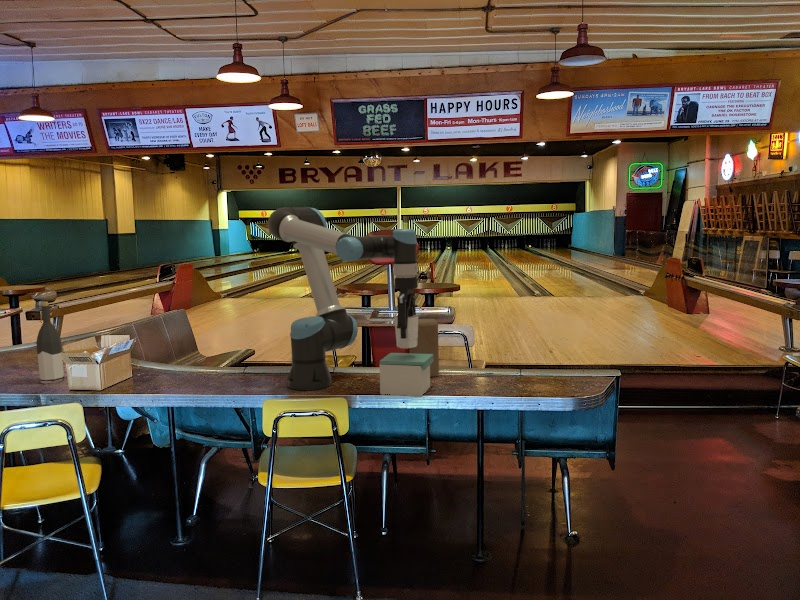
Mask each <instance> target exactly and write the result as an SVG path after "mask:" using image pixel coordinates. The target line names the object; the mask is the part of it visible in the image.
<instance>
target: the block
mask: <svg viewBox="0 0 800 600" xmlns="http://www.w3.org/2000/svg"><path fill="white" fill-rule="evenodd" d="M439 351H440V350H439V324H438V321H437V319H435V318H418V338H417V346H416V347H413V348H409V353H414V354H433V362H432V363H431V364H430V378H433V377H434V378H435V377H436V378H437V377H439V375H440V372H439V371H440V366H439V365H440V363H439V361H440V359H439Z"/></svg>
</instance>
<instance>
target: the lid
mask: <svg viewBox="0 0 800 600" xmlns="http://www.w3.org/2000/svg"><path fill="white" fill-rule="evenodd" d="M432 362H433V354H414V353H410V352H409V353H407V352H405V353H404V352H390V353H388V354H387V355H386V356H384V357H383V358H382V359H380V360H379V364H400V365H422V370H425V369H426V368H427V367H428V366H429V365H430V364H431V363H432Z"/></svg>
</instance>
